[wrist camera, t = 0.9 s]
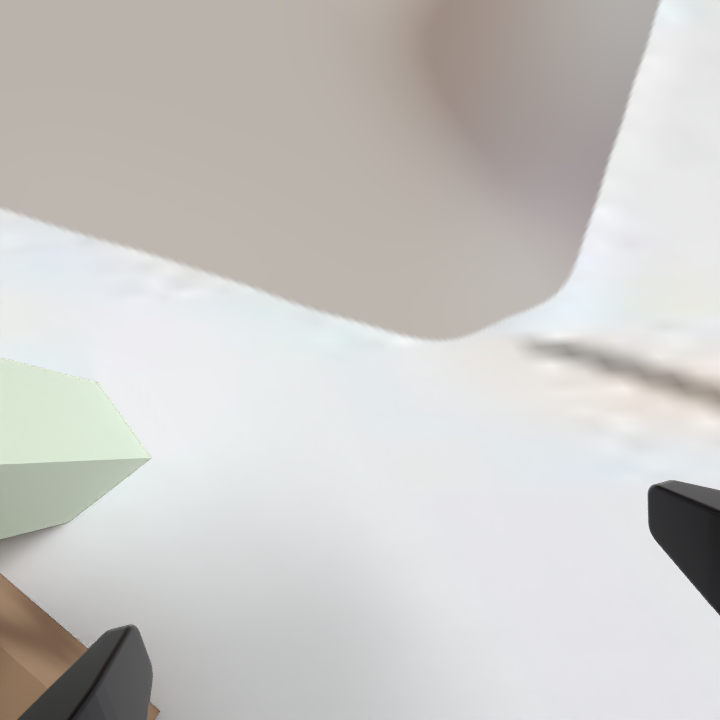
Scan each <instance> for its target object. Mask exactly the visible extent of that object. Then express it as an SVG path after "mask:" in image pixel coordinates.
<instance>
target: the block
mask: <svg viewBox="0 0 720 720" xmlns="http://www.w3.org/2000/svg"><path fill="white" fill-rule="evenodd" d="M151 458H152V457H151V456H150V454H149V453H148V452H147V450H146V449H145V447H144V446H143V445H142V443H141V442H140V440H139V439H138V438H137V436H136V435H135V433H134V432H133V431H132V429H131V428H130V427H129V425H128V424H127V422H126V421H125V420H124V418H123V417H122V415H121V414H120V413H119V411H118V410H117V408H116V407H115V406H114V404H113V403H112V401H111V400H110V399H109V397H108V396H107V394H106V393H105V392H104V390H103V389H102V387H101V386H100V385H99V383H98V382H95V381H91V380H87V379H83V378H79V377H75V376H71V375H67V374H63V373H59V372H55V371H51V370H47V369H43V368H39V367H35V366H31V365H27V364H23V363H19V362H15V361H12V360H8V359H4V358H0V539H4V538H8V537H12V536H16V535H20V534H24V533H28V532H32V531H36V530H40V529H44V528H48V527H52V526H56V525H59V524H63V523H67V522H70V521H71V520H72V519H74V518H75V517H76V516H77V515H79V514H80V513H81V512H83V511H84V510H85V509H86V508H88V507H89V506H90V505H92V504H93V503H94V502H95V501H97V500H98V499H99V498H101V497H102V496H103V495H104V494H106V493H107V492H108V491H110V490H111V489H112V488H113V487H115V486H116V485H117V484H119V483H120V482H121V481H122V480H124V479H125V478H126V477H128V476H129V475H130V474H131V473H133V472H134V471H135V470H137V469H138V468H139V467H141V466H142V465H143V464H144V463H146V462H147V461H148V460H150V459H151Z"/></svg>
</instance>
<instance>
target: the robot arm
mask: <svg viewBox="0 0 720 720" xmlns="http://www.w3.org/2000/svg"><path fill="white" fill-rule="evenodd" d="M648 524H649V529H650V532H651V534H652V536H653V537H654V539H655V540H656V542H657V543H658V544H659V545H660V546H661V547H662V549H663V550H664V551H665V552H666V553H667V555H668V556H669V557H670V558H671V559H672V560H673V562H674V563H675V564H676V565H677V566H678V567H679V569H680V570H681V571H682V572H683V573H684V575H685V576H686V577H687V578H688V579H689V580H690V582H691V583H692V584H693V585H694V586H695V587H696V589H697V590H698V591H699V592H700V593H701V594H702V596H703V597H704V598H705V599H706V600H707V602H708V603H709V604H710V605H711V606H712V607H713V608H714V609H715V611H716V612H717V613H718V614H719V615H720V490H716V489H711V488H707V487H702V486H698V485H693V484H689V483H684V482H680V481H675V480H669V481H665V482H662V483H658V484H654V485H652V486H651V487H650V488H649V490H648ZM152 678H153V673H152V665H151V662H150V659H149V656H148V654H147V651H146V648H145V645H144V643H143V640H142V637H141V635H140V632H139V630H138V628H137V627H136V626H135V625H132V624H130V625H126V626H122V627H118V628H115V629H111V630H108V631H107V632H105V633H104V634H103V635H102V636H101V637H100V638H99V639H98V640H97V641H96V642H95V643H94V644H93V645H92V646H91V647H90V648H89V649H88V650H87V651H86V652H85V653H84V654H83V655H82V656H81V657H80V658H79V659H78V660H77V661H76V662H75V663H74V664H73V665H71V666H70V667H69V668H68V669H67V670H66V671H65V672H64V673H63V674H62V675H61V676H60V677H59V678H58V679H57V680H56V681H55V682H54V683H53V684H52V685H51V686H50V687H49V688H48V689H47V690H46V691H45V692H44V693H43V694H42V695H41V696H40V697H39V698H38V699H37V700H36V701H35V702H34V703H33V704H32V705H31V706H30V707H29V708H28V709H27V710H26V711H25V712H24V713H23V714H22V715H21V716H20V717H19V718H18V719H17V720H147V717H148V710H149V702H150V695H151V687H152Z"/></svg>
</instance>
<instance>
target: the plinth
mask: <svg viewBox="0 0 720 720" xmlns="http://www.w3.org/2000/svg"><path fill="white" fill-rule="evenodd" d="M87 650H88V649H87V648H86V647H85V646H84V645H83V644H81V643H80V642H79V641H78V640H77V639H76V638H74V637H73V636H72V635H71V634H70V633H69V632H67V631H66V630H65V629H64V628H63V627H62V626H61V625H59V624H58V623H57V622H56V621H55V620H54V619H52V618H51V617H50V616H49V615H48V614H47V613H45V612H44V611H43V610H42V609H41V608H40V607H38V606H37V605H36V604H35V603H34V602H33V601H31V600H30V599H29V598H28V597H27V596H26V595H24V594H23V593H22V592H21V591H20V590H19V589H17V588H16V587H15V586H14V585H13V584H12V583H10V582H9V581H8V580H7V579H6V578H5V577H3V576H2V575H1V574H0V720H17V719H18V718H19V717H20V716H21V715H22V714H23V713H24V712H25V711H26V710H27V709H28V708H29V707H30V706H31V705H32V704H33V703H34V702H35V701H36V700H37V699H38V698H39V697H40V696H41V695H42V694H43V693H44V692H45V691H46V690H47V689H48V688H49V687H50V686H51V685H52V684H53V683H54V682H55V681H56V680H57V679H58V678H59V677H60V676H61V675H62V674H63V673H64V672H65V671H66V670H67V669H68V668H69V667H70V666H71V665H73V664H74V663H75V662H76V661H77V660H78V659H79V658H80V657H81V656H82V655H83V654H84V653H85V652H86V651H87ZM159 712H160V711H159V710H158V709H157V708H156V707H155V706H154V705H152V704H151V703H150V702H149V710H148V717H147V720H154V719H155V718H156V716H157V715H158V714H159Z"/></svg>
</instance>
